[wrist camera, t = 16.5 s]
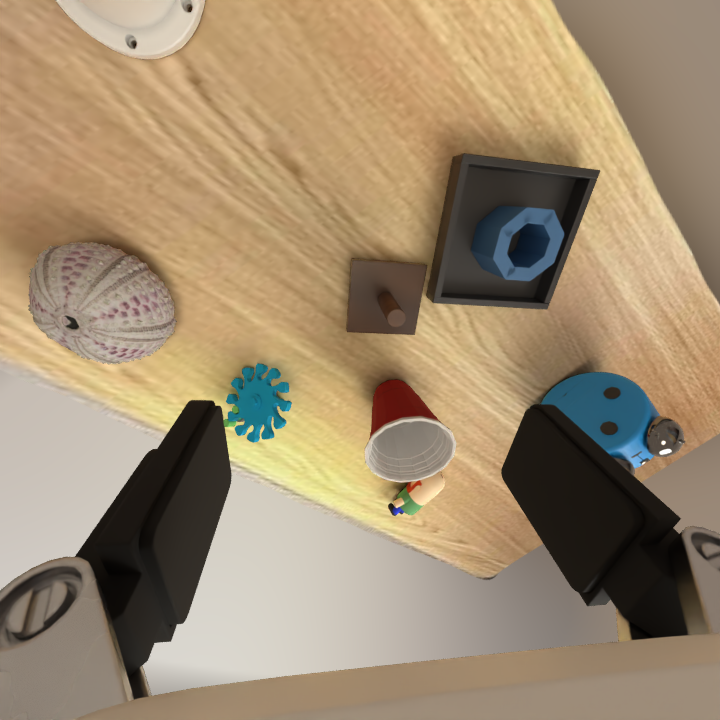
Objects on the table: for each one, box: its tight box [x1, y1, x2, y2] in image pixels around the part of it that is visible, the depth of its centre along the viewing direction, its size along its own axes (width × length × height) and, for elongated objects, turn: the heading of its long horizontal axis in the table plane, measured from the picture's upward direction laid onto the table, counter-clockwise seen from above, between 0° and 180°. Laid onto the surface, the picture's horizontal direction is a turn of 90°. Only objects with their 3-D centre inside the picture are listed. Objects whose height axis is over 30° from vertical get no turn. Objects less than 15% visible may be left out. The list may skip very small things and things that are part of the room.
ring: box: [471, 206, 564, 281], centre depth 34 cm, size 7×7×6 cm
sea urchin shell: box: [29, 242, 177, 364], centre depth 32 cm, size 13×14×8 cm
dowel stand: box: [346, 258, 427, 335], centre depth 35 cm, size 9×9×8 cm
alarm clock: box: [541, 372, 685, 476], centre depth 43 cm, size 13×6×15 cm, turn 136°
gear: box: [224, 363, 292, 442], centre depth 41 cm, size 11×6×10 cm
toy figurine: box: [388, 471, 445, 516], centre depth 54 cm, size 8×4×12 cm
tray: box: [427, 153, 600, 309], centre depth 36 cm, size 15×15×3 cm
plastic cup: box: [365, 379, 456, 482], centre depth 41 cm, size 11×11×12 cm
